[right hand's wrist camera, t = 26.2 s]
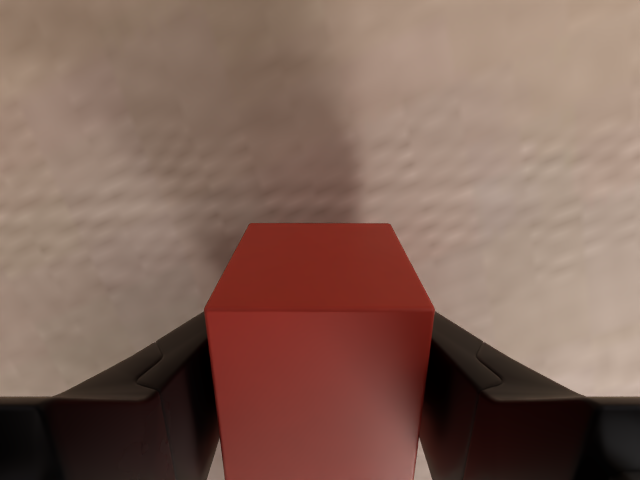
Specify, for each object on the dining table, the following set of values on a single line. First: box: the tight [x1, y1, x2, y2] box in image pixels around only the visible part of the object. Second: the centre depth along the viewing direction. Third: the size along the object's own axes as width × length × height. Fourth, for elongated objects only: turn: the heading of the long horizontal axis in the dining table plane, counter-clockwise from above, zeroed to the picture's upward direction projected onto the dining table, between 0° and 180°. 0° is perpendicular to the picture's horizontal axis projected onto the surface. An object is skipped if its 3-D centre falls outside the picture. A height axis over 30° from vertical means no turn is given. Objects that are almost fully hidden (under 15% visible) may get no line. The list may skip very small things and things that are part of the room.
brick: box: [204, 223, 435, 480], centre depth 10 cm, size 5×4×5 cm
